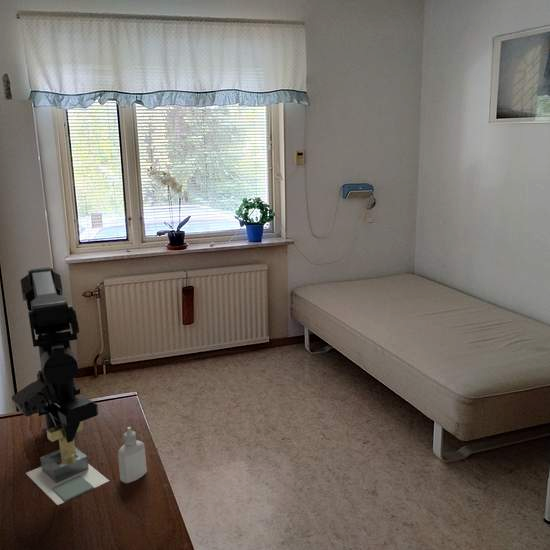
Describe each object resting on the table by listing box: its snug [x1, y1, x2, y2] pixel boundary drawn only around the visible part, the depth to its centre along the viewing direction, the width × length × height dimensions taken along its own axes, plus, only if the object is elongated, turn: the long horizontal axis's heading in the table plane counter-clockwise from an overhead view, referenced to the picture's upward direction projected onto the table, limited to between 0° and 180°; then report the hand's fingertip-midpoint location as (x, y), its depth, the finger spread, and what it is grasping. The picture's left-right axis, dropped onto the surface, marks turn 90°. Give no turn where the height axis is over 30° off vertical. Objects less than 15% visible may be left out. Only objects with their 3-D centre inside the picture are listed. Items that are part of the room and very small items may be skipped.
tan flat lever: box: [46, 421, 84, 465], centre depth 111 cm, size 6×3×8 cm, turn 135°
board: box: [25, 463, 110, 506], centre depth 118 cm, size 16×11×1 cm
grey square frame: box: [39, 446, 89, 483], centre depth 120 cm, size 7×7×3 cm
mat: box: [52, 476, 95, 502], centre depth 113 cm, size 6×6×1 cm
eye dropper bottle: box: [117, 426, 148, 484], centre depth 116 cm, size 4×6×12 cm
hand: (66, 438), depth 111 cm, fingers closed on tan flat lever, 3 cm apart
